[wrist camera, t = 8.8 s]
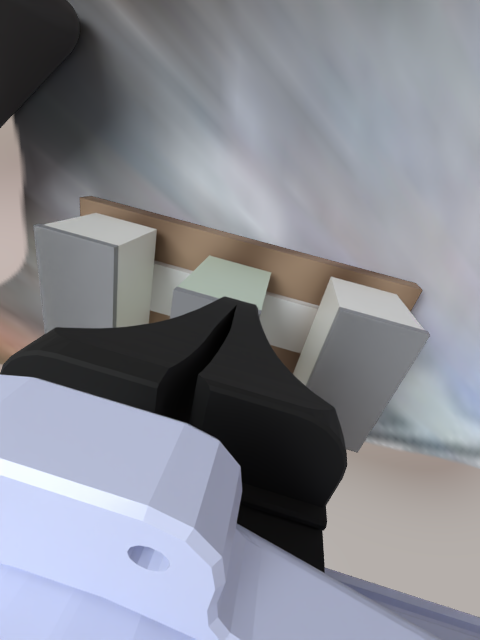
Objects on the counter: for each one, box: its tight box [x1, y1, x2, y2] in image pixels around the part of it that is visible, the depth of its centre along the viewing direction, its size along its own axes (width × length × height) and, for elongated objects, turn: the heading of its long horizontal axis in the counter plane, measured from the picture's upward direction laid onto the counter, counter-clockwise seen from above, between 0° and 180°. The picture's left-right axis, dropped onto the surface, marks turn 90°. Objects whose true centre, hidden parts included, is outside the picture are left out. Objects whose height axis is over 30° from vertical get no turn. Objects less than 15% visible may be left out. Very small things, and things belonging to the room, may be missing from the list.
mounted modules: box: [33, 213, 430, 452], centre depth 18 cm, size 19×8×5 cm, turn 78°
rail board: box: [80, 196, 422, 374], centre depth 21 cm, size 22×9×2 cm, turn 78°
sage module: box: [170, 256, 271, 319], centre depth 17 cm, size 4×6×6 cm, turn 167°
